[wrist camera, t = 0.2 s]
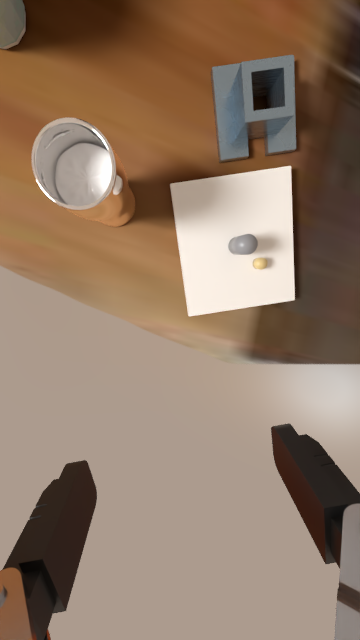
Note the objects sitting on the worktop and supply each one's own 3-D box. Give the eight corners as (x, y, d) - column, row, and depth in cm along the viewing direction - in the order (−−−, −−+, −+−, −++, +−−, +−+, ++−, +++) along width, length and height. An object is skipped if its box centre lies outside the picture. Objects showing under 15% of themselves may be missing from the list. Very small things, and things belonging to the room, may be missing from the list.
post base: (169, 186, 34) (170, 171, 28) (285, 169, 34) (312, 150, 28) (188, 314, 39) (192, 325, 32) (290, 298, 39) (313, 306, 33)
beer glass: (95, 166, 33) (39, 97, 19) (145, 187, 34) (129, 136, 20) (81, 219, 35) (19, 193, 20) (129, 237, 36) (104, 225, 21)
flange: (210, 72, 31) (218, 39, 26) (290, 61, 31) (312, 26, 26) (219, 162, 34) (228, 147, 29) (292, 152, 34) (313, 134, 29)
